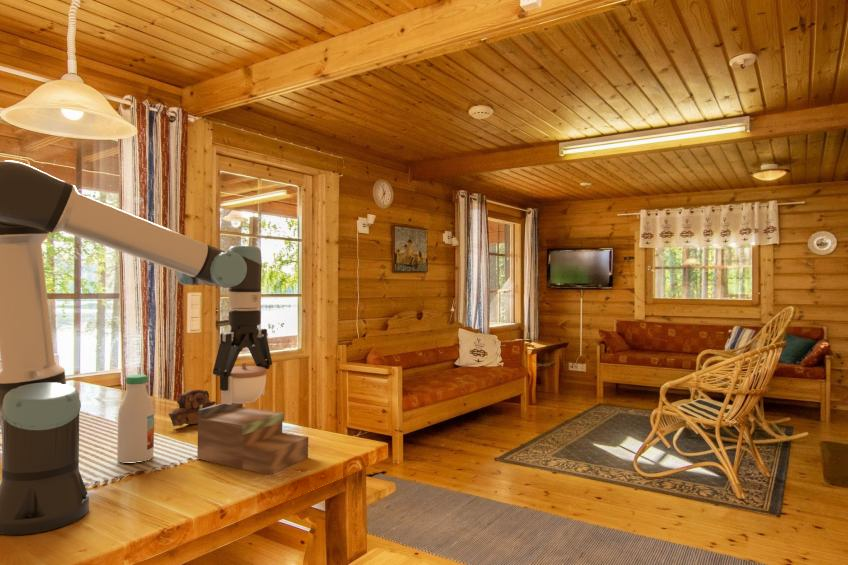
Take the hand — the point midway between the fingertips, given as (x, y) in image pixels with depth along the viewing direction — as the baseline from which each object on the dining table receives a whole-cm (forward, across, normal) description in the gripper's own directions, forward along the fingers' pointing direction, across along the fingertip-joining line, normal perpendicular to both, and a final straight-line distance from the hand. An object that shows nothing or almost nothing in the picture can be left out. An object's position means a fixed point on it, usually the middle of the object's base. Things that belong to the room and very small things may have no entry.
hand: (243, 399), depth 142 cm
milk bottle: (+14, -14, +20) cm, 28 cm away
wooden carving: (+14, +16, +33) cm, 39 cm away
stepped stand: (+14, 0, -3) cm, 14 cm away
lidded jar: (+1, 0, 0) cm, 1 cm away
